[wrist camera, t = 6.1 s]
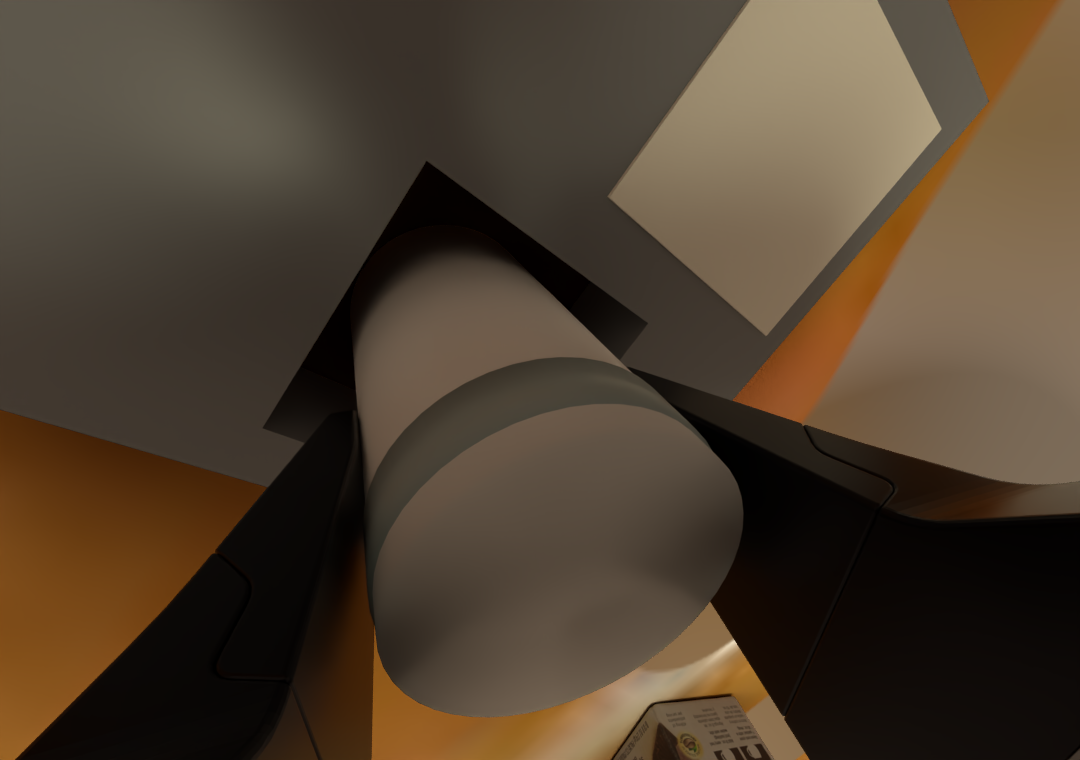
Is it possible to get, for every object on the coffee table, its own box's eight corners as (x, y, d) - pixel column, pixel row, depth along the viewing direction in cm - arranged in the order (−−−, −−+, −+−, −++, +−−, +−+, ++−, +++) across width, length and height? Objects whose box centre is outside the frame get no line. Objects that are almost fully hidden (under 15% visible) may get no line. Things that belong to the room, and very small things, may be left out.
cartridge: (413, 181, 11) (548, 349, 4) (564, 286, 14) (808, 504, 7) (311, 347, 12) (285, 705, 5) (468, 418, 15) (594, 729, 8)
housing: (252, -975, 5) (184, -1901, 3) (873, 97, 14) (993, 101, 11) (-165, 241, 9) (-371, 307, 6) (544, 506, 17) (581, 580, 15)
